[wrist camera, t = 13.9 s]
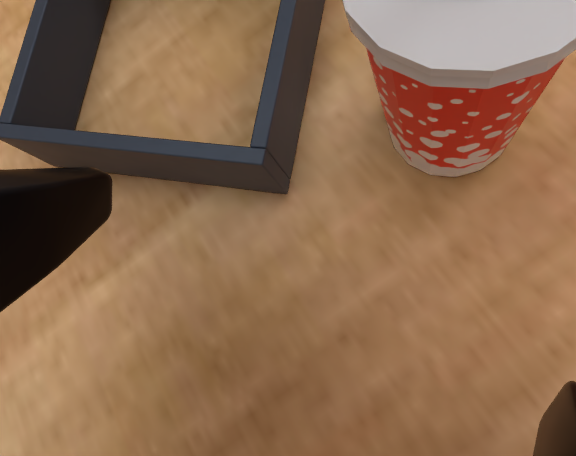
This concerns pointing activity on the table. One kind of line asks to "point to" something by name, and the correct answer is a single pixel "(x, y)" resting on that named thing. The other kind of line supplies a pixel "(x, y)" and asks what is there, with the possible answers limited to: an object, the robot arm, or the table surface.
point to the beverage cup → (460, 72)
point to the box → (142, 150)
